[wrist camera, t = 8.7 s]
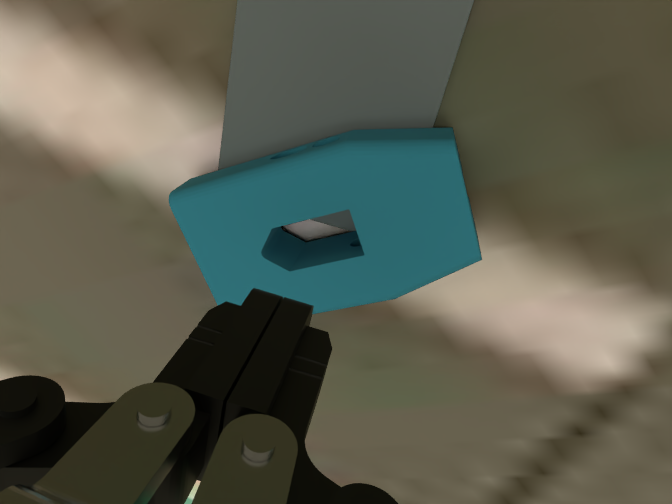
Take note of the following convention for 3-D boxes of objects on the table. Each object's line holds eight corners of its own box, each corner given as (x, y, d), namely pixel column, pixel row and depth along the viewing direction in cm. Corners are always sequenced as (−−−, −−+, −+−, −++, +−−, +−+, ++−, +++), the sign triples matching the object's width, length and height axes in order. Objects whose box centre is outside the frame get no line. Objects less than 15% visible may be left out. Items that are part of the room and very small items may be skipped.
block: (488, 287, 33) (231, 333, 39) (481, 254, 37) (252, 300, 43) (447, 113, 28) (165, 196, 34) (446, 99, 33) (195, 175, 39)
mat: (476, -10, 30) (477, -10, 30) (395, 240, 39) (395, 244, 38) (248, -68, 31) (245, -69, 30) (218, 189, 39) (215, 191, 39)
